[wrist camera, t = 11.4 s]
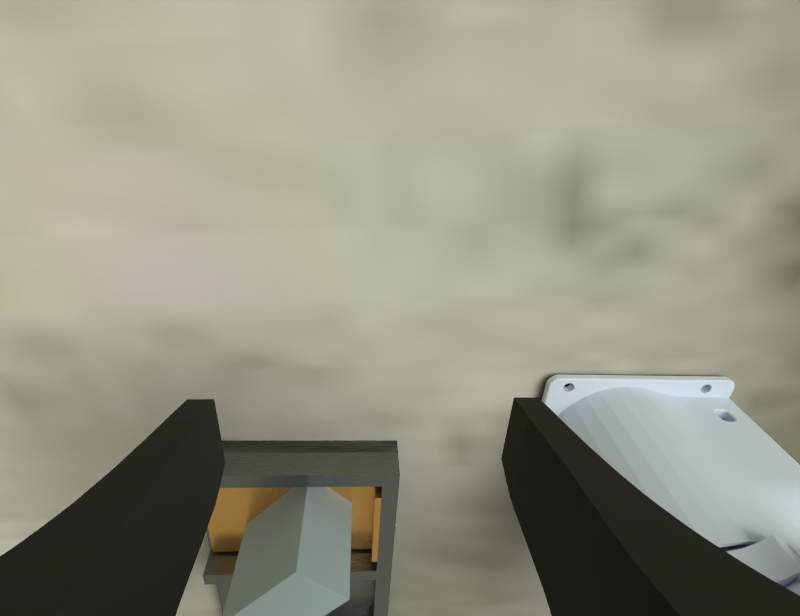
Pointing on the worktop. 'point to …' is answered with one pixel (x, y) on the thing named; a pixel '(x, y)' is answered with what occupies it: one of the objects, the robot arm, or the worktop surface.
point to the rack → (312, 467)
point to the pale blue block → (294, 557)
